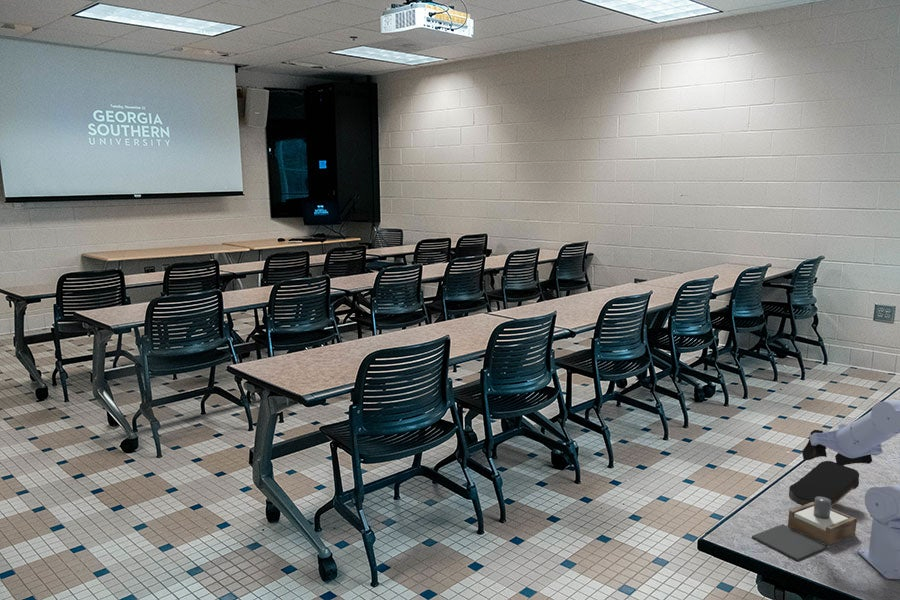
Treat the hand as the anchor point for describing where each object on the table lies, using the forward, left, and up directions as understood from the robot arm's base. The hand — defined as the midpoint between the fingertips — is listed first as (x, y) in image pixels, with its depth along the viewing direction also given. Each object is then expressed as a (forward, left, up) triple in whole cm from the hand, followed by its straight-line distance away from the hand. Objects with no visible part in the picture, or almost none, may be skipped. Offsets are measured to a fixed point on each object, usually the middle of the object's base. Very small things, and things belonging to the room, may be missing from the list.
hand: (820, 458), depth 146 cm
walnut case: (-6, +2, -13) cm, 15 cm away
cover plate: (-6, +2, -11) cm, 13 cm away
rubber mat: (-11, +11, -13) cm, 21 cm away
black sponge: (+6, -5, -11) cm, 14 cm away
